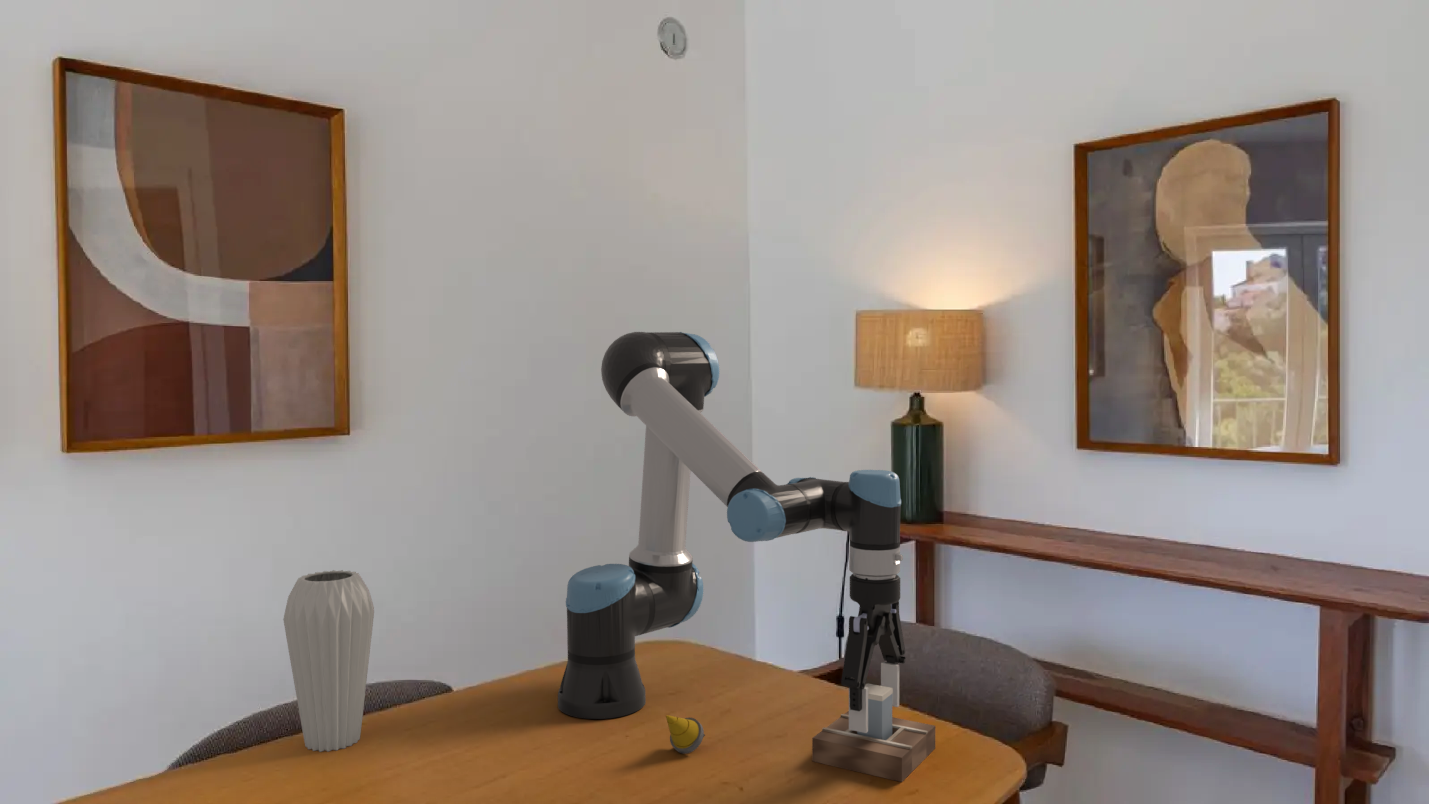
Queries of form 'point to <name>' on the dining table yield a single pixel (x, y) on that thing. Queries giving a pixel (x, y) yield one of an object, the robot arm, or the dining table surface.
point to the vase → (329, 655)
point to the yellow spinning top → (685, 733)
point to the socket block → (875, 748)
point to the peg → (879, 712)
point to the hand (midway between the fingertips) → (874, 717)
